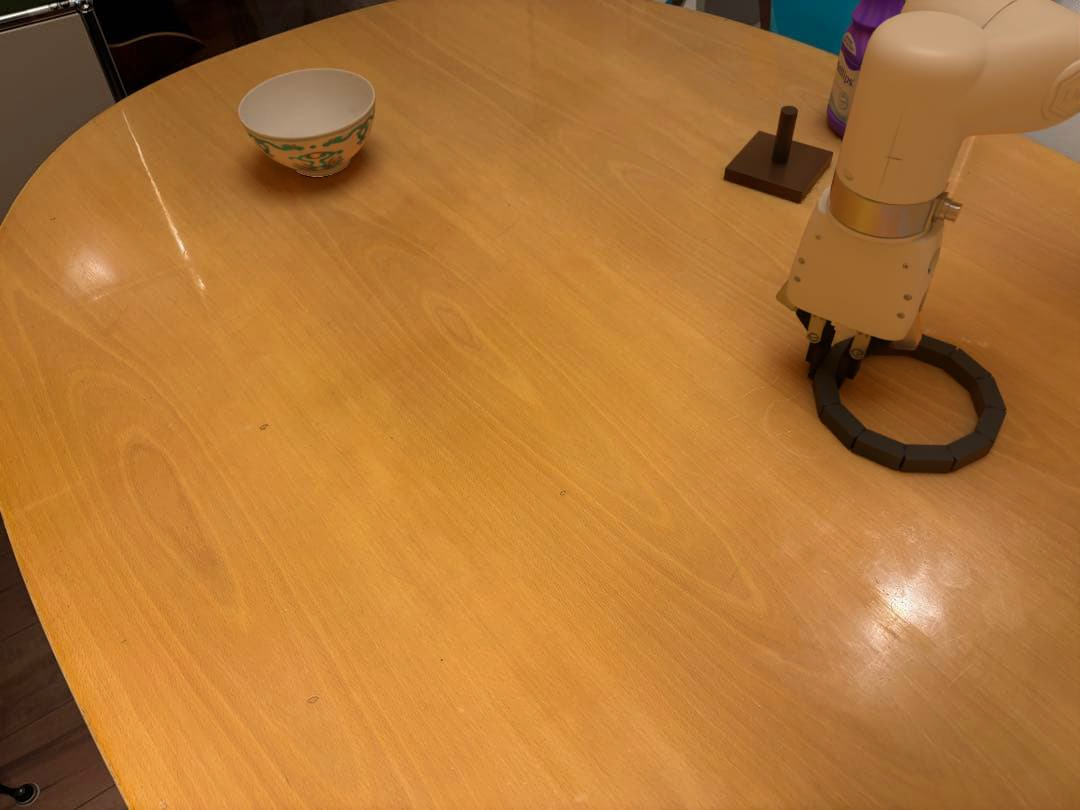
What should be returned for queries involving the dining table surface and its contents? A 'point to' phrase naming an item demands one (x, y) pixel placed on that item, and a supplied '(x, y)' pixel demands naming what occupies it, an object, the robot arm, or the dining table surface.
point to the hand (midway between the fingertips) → (829, 373)
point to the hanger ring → (915, 454)
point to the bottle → (856, 56)
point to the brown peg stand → (779, 161)
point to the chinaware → (310, 118)
